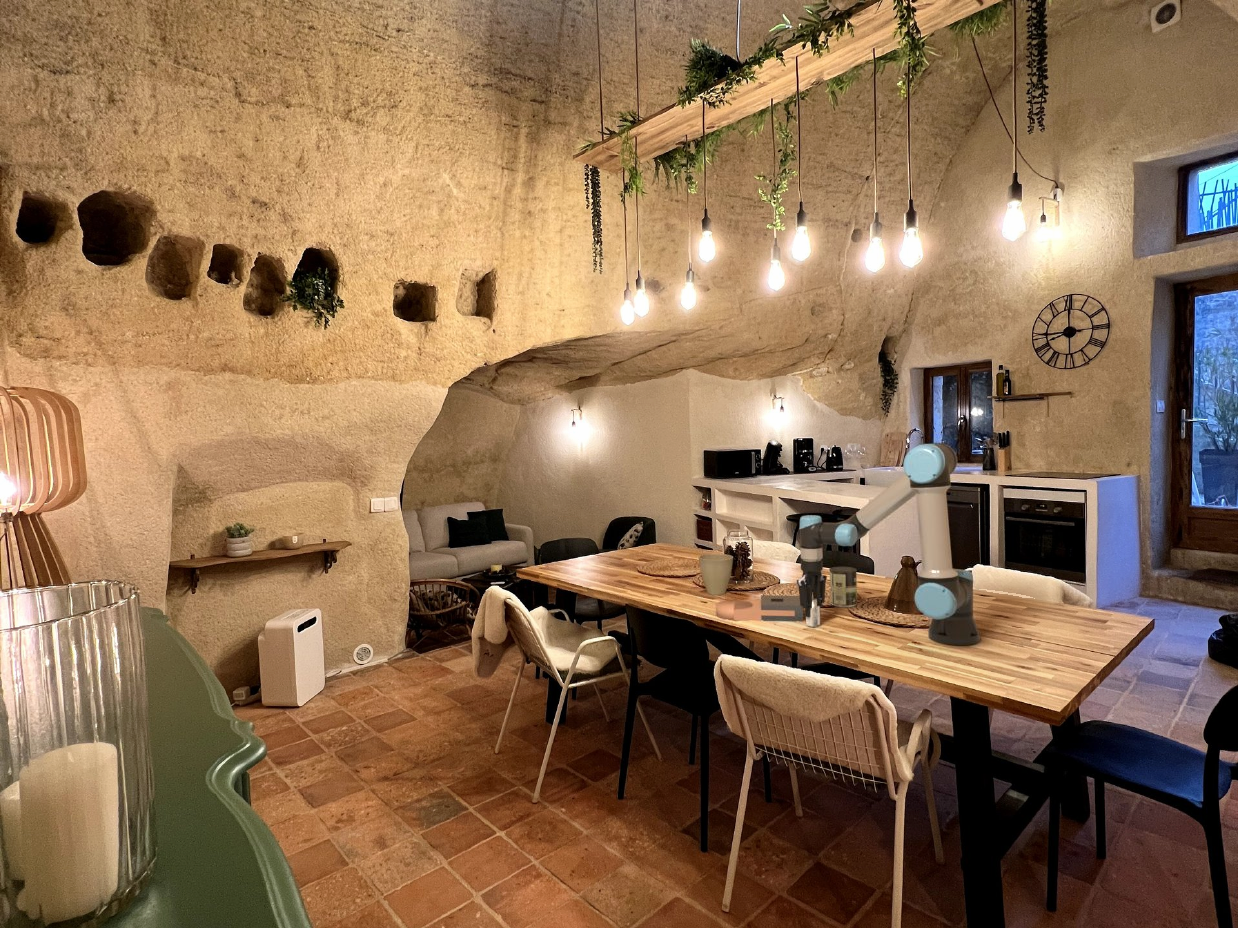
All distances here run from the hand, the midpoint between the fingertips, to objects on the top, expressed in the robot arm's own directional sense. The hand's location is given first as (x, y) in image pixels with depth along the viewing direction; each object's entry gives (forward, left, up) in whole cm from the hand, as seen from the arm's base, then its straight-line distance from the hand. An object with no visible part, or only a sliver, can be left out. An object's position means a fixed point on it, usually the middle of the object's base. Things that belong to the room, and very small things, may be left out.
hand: (813, 624), depth 246 cm
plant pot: (+47, +37, -1) cm, 60 cm away
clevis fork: (+13, +11, -1) cm, 17 cm away
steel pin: (0, 0, -1) cm, 1 cm away
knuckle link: (+13, +21, -1) cm, 24 cm away
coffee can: (+32, -14, -1) cm, 35 cm away
